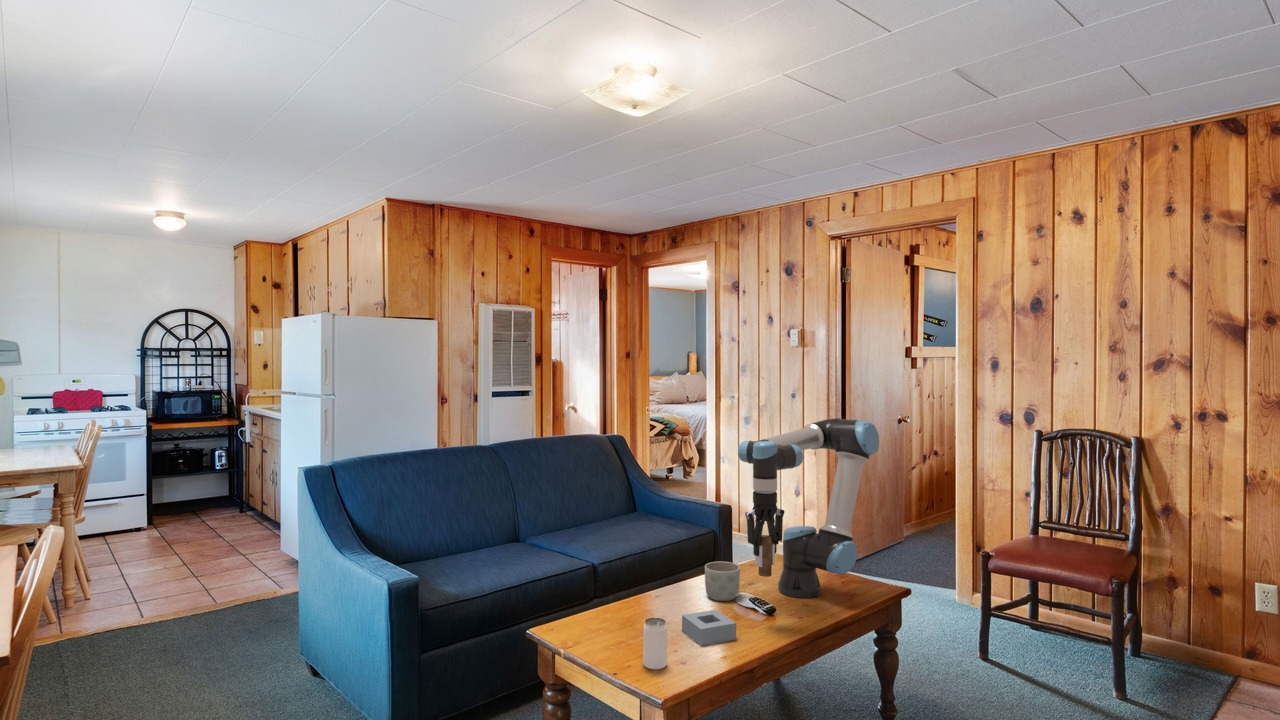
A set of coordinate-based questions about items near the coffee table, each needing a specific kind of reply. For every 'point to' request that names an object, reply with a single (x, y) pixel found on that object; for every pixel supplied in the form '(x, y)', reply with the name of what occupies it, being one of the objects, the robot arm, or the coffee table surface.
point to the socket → (708, 627)
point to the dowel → (766, 556)
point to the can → (655, 644)
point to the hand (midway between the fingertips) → (765, 564)
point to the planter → (722, 580)
